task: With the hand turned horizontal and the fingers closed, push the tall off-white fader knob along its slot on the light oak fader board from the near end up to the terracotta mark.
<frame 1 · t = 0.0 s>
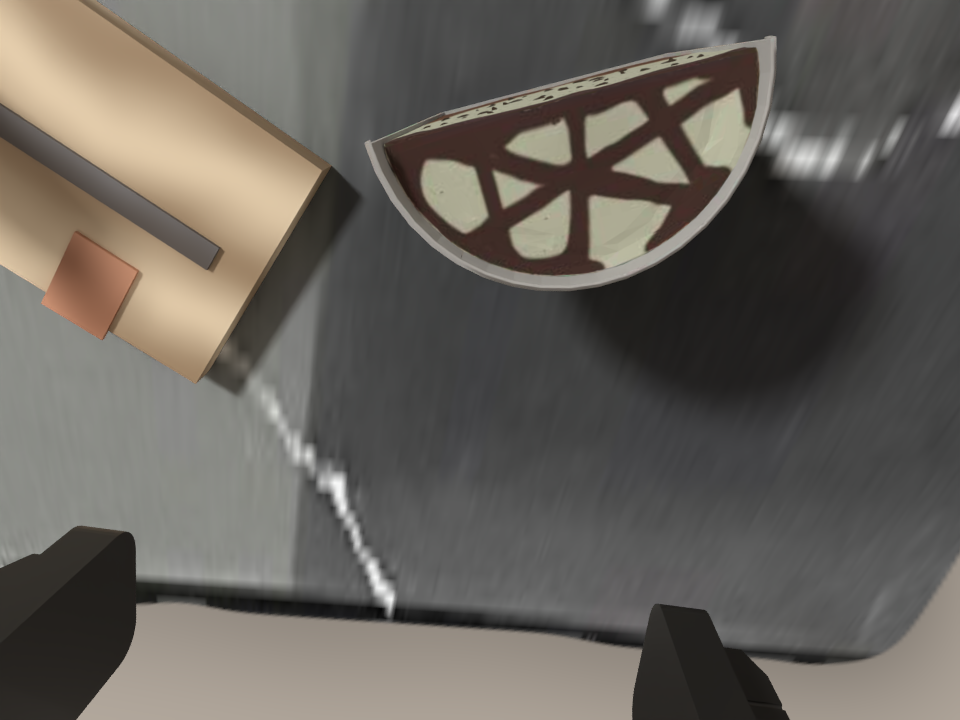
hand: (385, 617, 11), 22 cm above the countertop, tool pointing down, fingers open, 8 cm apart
food container: (565, 159, 30), on the countertop
fader board: (1, 101, 30), on the countertop
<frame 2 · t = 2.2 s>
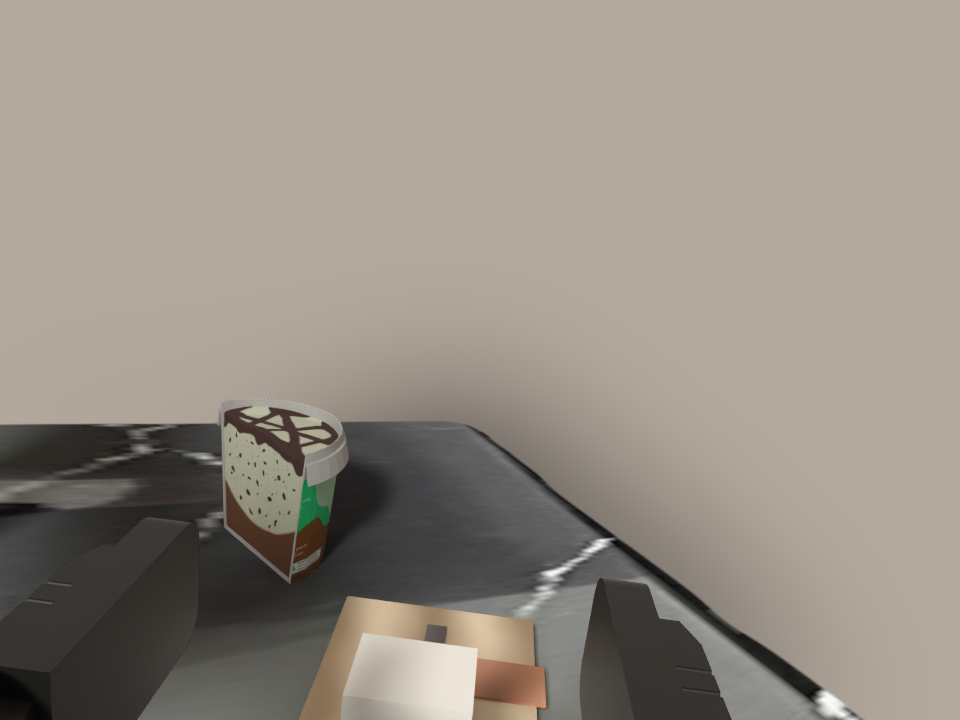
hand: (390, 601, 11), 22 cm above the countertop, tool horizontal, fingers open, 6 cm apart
food container: (292, 544, 53), on the countertop
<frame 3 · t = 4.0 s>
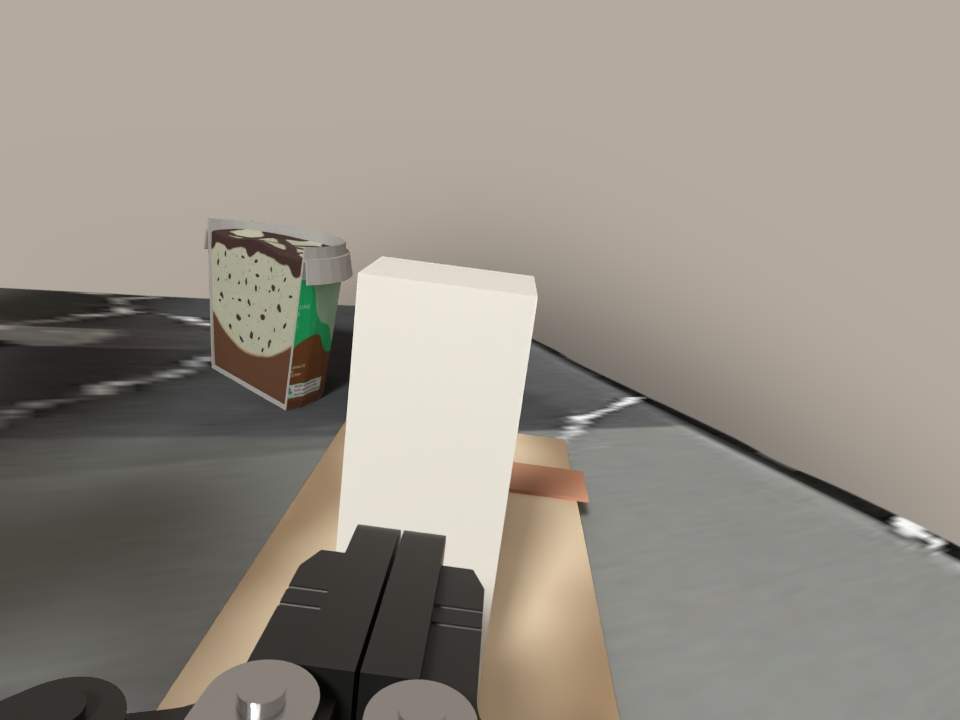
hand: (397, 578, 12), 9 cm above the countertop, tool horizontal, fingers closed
food container: (288, 384, 48), on the countertop
fader knob: (429, 482, 18), point 8 cm above the countertop, slide at -7.0 cm
fader board: (429, 580, 27), on the countertop
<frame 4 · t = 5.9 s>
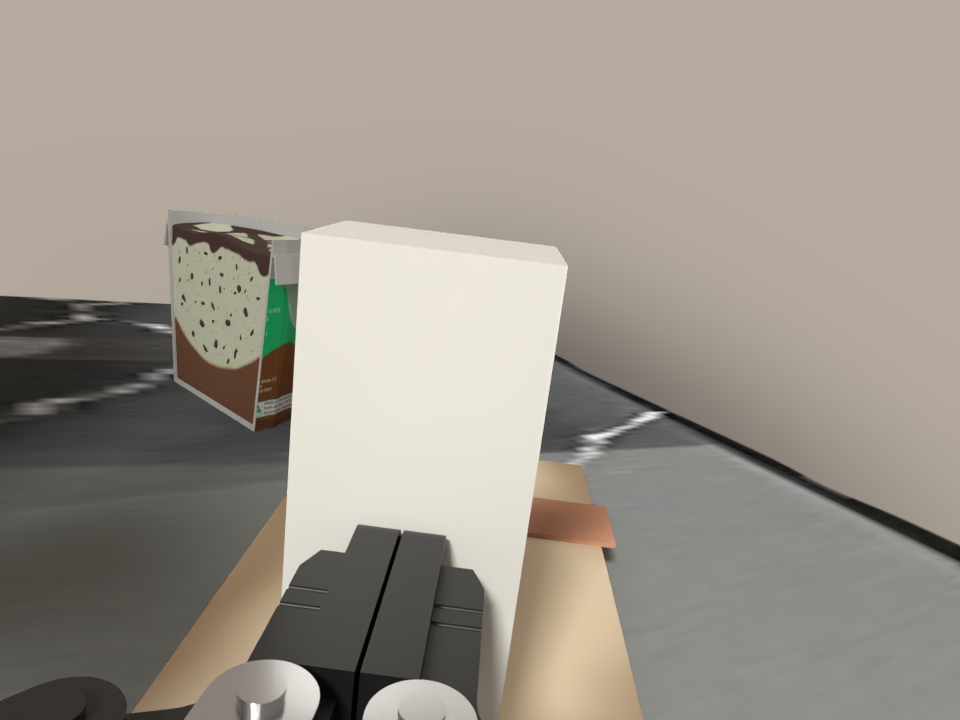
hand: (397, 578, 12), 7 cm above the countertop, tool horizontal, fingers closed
food container: (260, 399, 42), on the countertop
fader knob: (412, 531, 13), point 8 cm above the countertop, slide at -6.0 cm, touching gripper
fader board: (416, 659, 21), on the countertop
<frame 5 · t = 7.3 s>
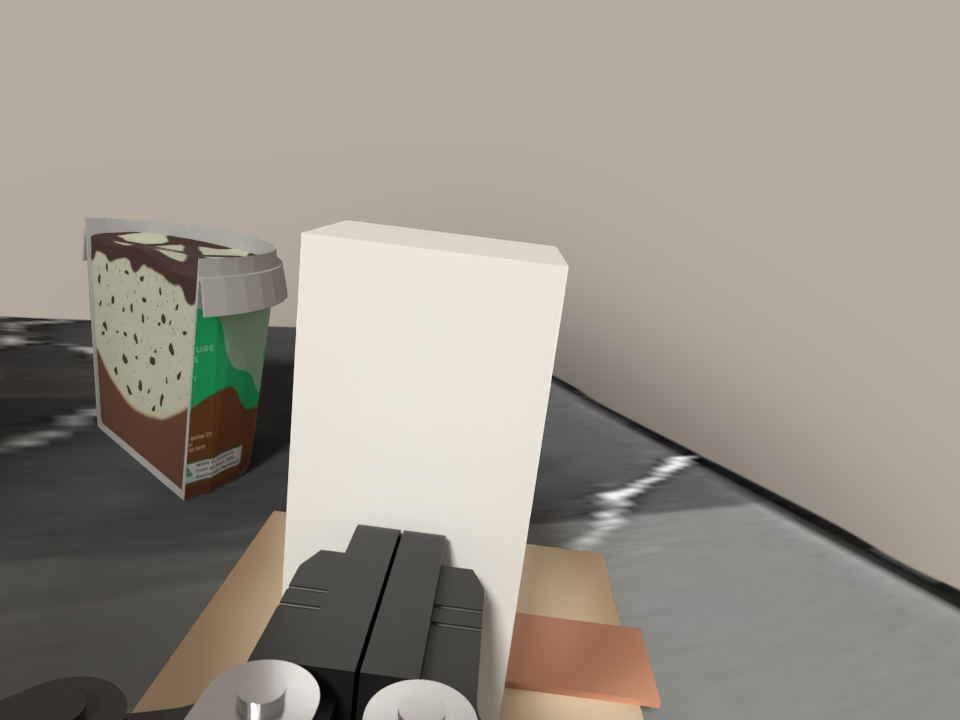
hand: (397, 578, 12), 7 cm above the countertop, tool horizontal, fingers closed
food container: (203, 450, 34), on the countertop
fader knob: (413, 531, 13), point 8 cm above the countertop, slide at 2.1 cm, touching gripper
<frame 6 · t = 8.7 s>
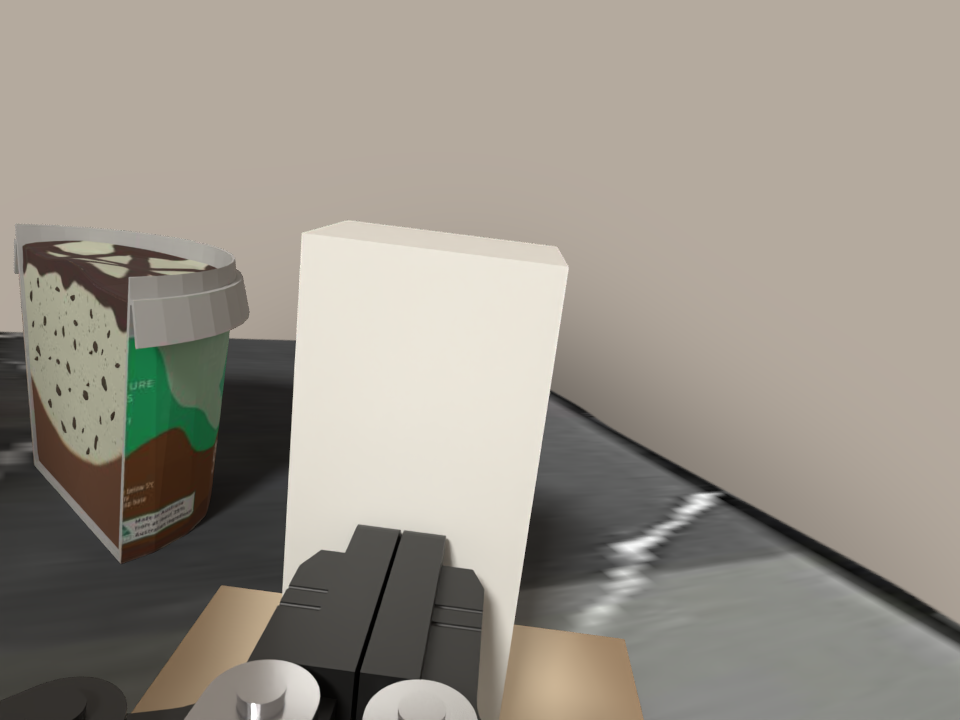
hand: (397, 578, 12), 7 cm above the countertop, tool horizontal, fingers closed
food container: (154, 493, 29), on the countertop
fader knob: (413, 531, 13), point 7 cm above the countertop, slide at 6.9 cm, touching gripper
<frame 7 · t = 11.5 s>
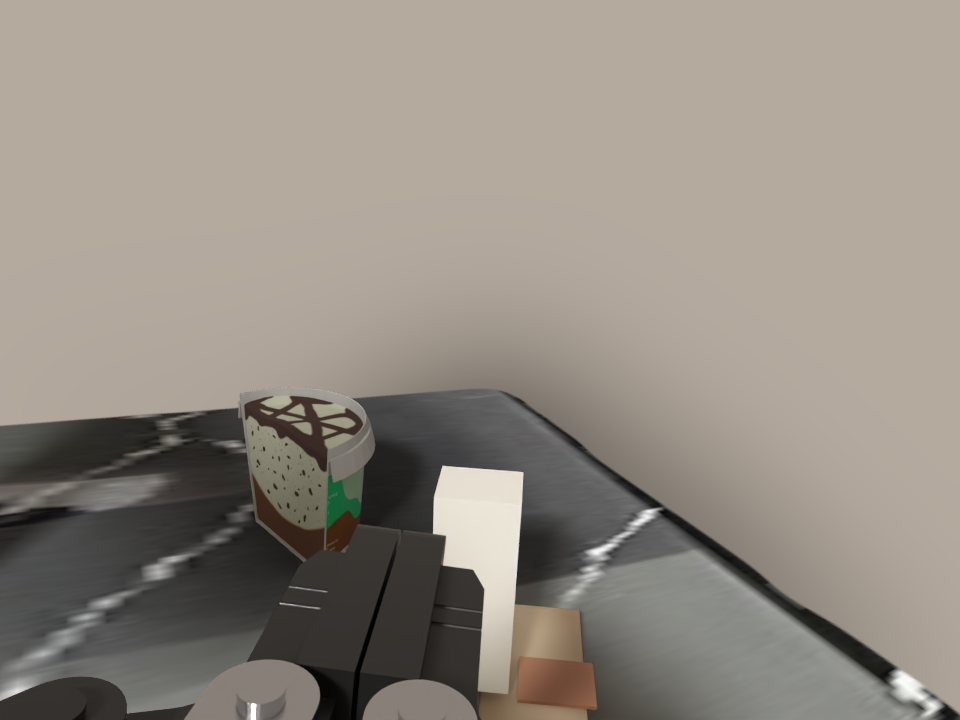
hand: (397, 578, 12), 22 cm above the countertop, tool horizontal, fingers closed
food container: (325, 534, 52), on the countertop
fader knob: (475, 581, 35), point 8 cm above the countertop, slide at 7.0 cm
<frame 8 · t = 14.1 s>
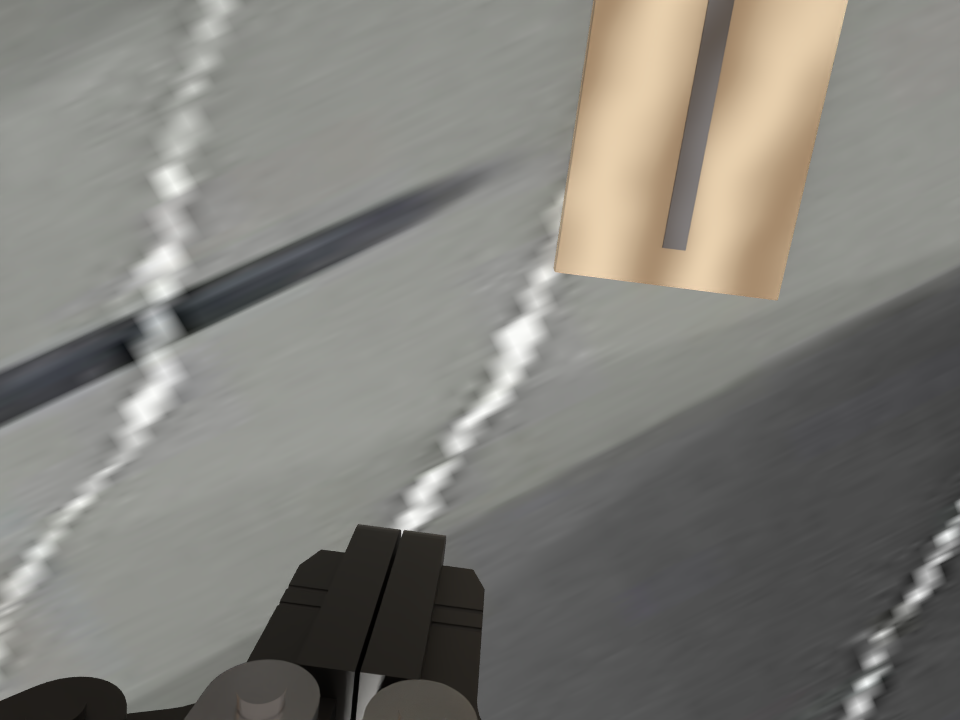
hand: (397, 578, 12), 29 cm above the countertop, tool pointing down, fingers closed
fader board: (708, 30, 36), on the countertop
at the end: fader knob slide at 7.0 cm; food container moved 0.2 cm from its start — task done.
